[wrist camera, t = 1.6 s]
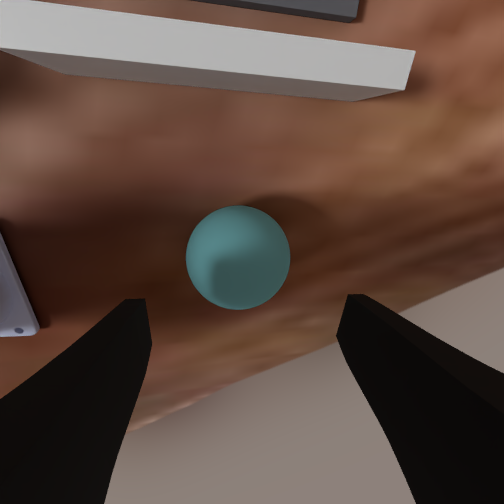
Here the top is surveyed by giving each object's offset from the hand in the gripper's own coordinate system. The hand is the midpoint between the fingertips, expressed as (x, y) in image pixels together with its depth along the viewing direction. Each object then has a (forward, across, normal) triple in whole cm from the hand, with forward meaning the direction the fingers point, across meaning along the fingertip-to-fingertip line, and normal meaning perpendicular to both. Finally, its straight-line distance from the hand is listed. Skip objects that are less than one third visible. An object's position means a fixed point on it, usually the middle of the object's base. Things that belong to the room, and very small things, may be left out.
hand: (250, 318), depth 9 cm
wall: (+8, +1, -8) cm, 11 cm away
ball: (+5, 0, 0) cm, 5 cm away
